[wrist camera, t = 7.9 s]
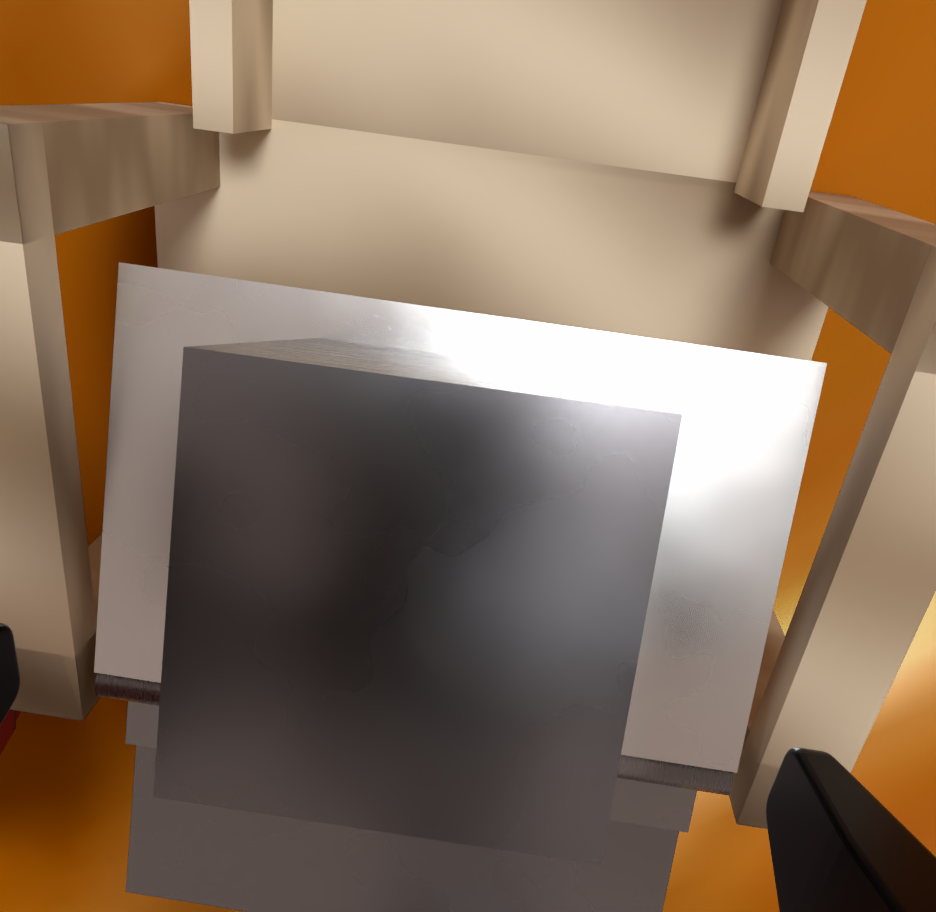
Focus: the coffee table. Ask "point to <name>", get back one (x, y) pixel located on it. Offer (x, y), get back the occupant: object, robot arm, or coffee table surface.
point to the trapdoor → (663, 641)
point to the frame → (500, 263)
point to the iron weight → (408, 591)
